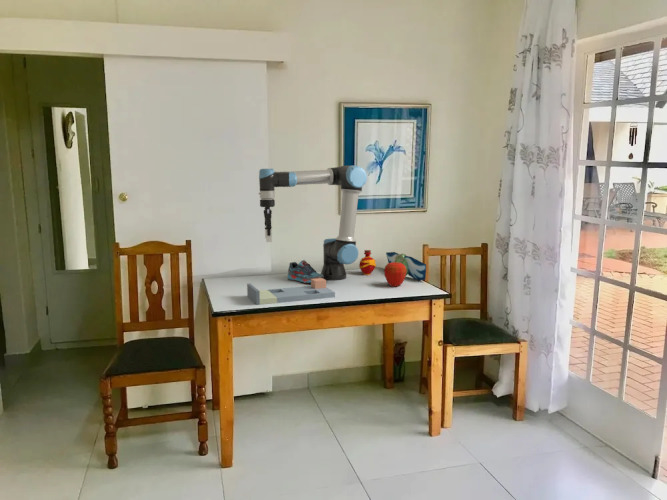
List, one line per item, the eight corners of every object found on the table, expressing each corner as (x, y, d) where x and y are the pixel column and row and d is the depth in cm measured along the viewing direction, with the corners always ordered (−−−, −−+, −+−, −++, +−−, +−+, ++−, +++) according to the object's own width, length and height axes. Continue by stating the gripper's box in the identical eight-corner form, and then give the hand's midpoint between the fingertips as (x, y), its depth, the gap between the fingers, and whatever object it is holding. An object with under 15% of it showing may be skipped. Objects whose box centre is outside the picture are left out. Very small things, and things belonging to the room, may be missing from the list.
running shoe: (316, 286, 290) (316, 264, 288) (281, 280, 305) (281, 259, 303) (327, 283, 298) (327, 262, 296) (293, 277, 313) (293, 257, 311)
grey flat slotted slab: (321, 289, 283) (321, 277, 282) (334, 297, 266) (335, 284, 265) (247, 296, 267) (247, 283, 266) (256, 304, 251) (256, 291, 250)
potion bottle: (361, 277, 314) (361, 252, 311) (357, 273, 324) (357, 249, 321) (378, 276, 316) (378, 251, 313) (373, 273, 326) (374, 249, 323)
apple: (405, 289, 284) (405, 263, 282) (382, 288, 286) (383, 262, 284) (406, 284, 296) (407, 259, 294) (385, 283, 298) (385, 258, 296)
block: (321, 285, 281) (321, 278, 280) (326, 287, 275) (326, 280, 274) (311, 286, 278) (311, 278, 278) (315, 288, 273) (315, 281, 272)
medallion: (380, 270, 335) (380, 248, 333) (387, 269, 337) (387, 248, 335) (420, 285, 294) (420, 260, 292) (427, 284, 296) (428, 260, 294)
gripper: (259, 197, 285) (260, 237, 288) (260, 200, 260) (261, 243, 264) (273, 197, 286) (274, 236, 289) (276, 200, 261) (277, 243, 265)
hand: (268, 240), depth 276 cm, fingers open, 13 cm apart
